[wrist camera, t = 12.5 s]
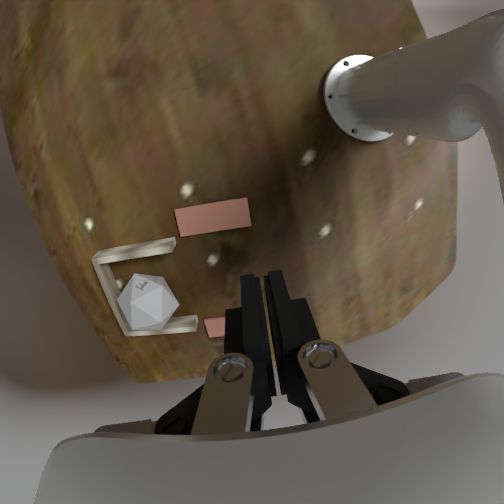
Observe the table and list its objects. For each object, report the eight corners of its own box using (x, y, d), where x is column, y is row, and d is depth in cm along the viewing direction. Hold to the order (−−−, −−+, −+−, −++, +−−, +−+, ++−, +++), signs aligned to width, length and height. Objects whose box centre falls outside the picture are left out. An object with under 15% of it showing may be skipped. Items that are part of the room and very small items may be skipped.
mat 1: (247, 197, 37) (247, 197, 37) (251, 224, 39) (251, 225, 38) (174, 209, 37) (174, 210, 37) (181, 235, 39) (180, 236, 38)
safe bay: (174, 236, 39) (170, 245, 36) (198, 319, 45) (196, 331, 43) (99, 250, 39) (91, 259, 36) (129, 325, 45) (125, 336, 43)
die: (191, 287, 43) (165, 282, 34) (175, 336, 42) (146, 344, 33) (150, 269, 45) (118, 261, 36) (135, 317, 44) (101, 318, 35)
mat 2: (263, 311, 45) (264, 312, 45) (266, 328, 47) (266, 330, 47) (204, 318, 45) (203, 320, 45) (209, 336, 47) (209, 337, 47)
